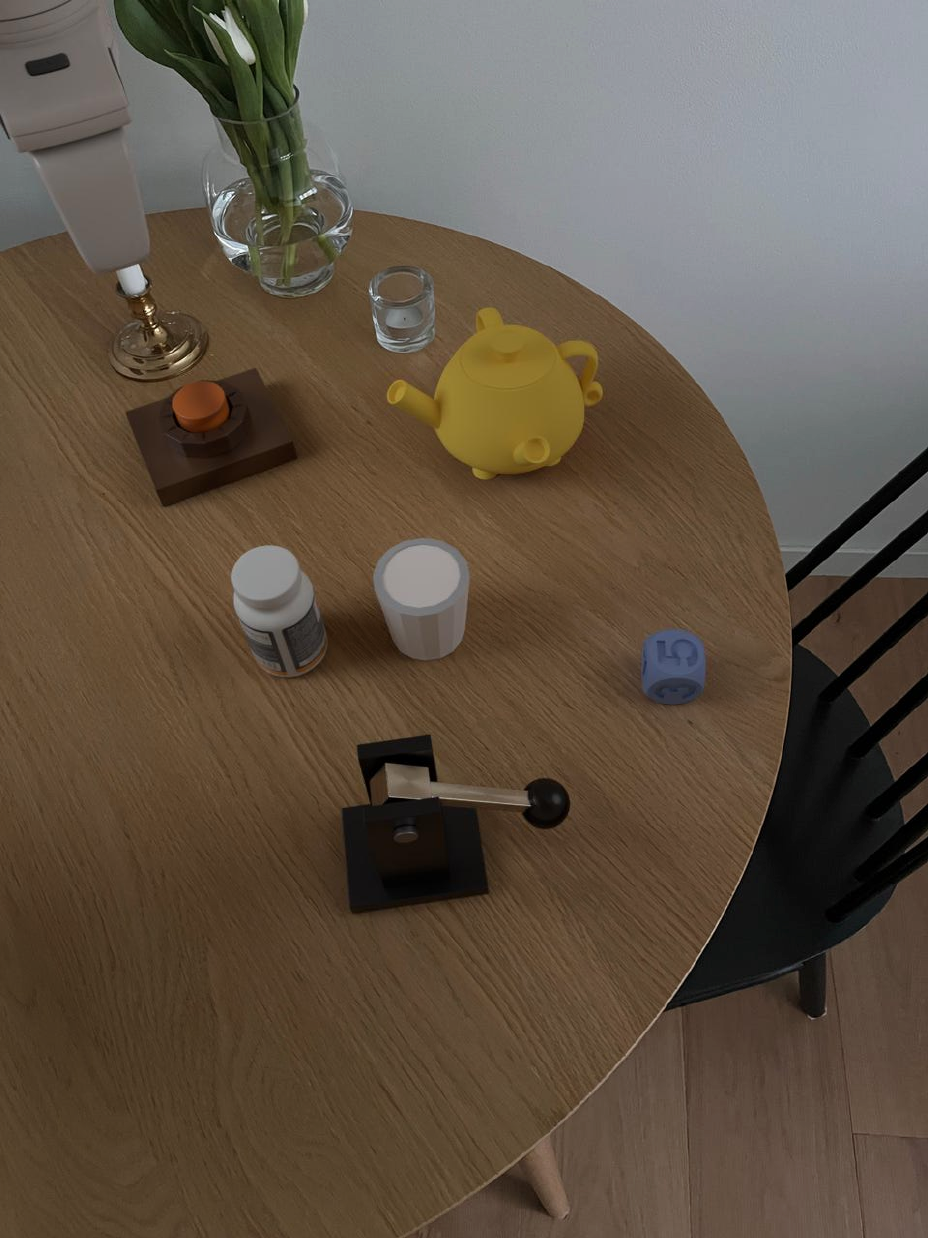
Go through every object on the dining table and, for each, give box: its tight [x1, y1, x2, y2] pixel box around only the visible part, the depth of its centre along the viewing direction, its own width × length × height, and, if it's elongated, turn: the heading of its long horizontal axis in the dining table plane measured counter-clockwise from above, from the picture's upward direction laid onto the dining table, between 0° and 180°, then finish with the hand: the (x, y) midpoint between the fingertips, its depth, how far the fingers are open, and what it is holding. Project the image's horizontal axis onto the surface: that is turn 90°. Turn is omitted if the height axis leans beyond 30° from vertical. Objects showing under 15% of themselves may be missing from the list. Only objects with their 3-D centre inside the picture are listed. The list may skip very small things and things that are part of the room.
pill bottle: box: [230, 544, 329, 678], centre depth 76 cm, size 6×6×10 cm
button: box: [172, 380, 229, 433], centre depth 89 cm, size 4×4×2 cm
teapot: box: [386, 306, 604, 481], centre depth 86 cm, size 14×14×11 cm
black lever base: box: [341, 733, 490, 915], centre depth 66 cm, size 9×7×12 cm
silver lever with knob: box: [370, 763, 571, 830], centre depth 65 cm, size 13×3×3 cm, turn 98°
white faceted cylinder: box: [372, 537, 471, 662], centre depth 78 cm, size 7×7×7 cm
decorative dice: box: [641, 628, 707, 705], centre depth 76 cm, size 4×4×4 cm
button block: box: [125, 367, 298, 508], centre depth 91 cm, size 12×10×4 cm
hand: (108, 247), depth 70 cm, fingers closed
